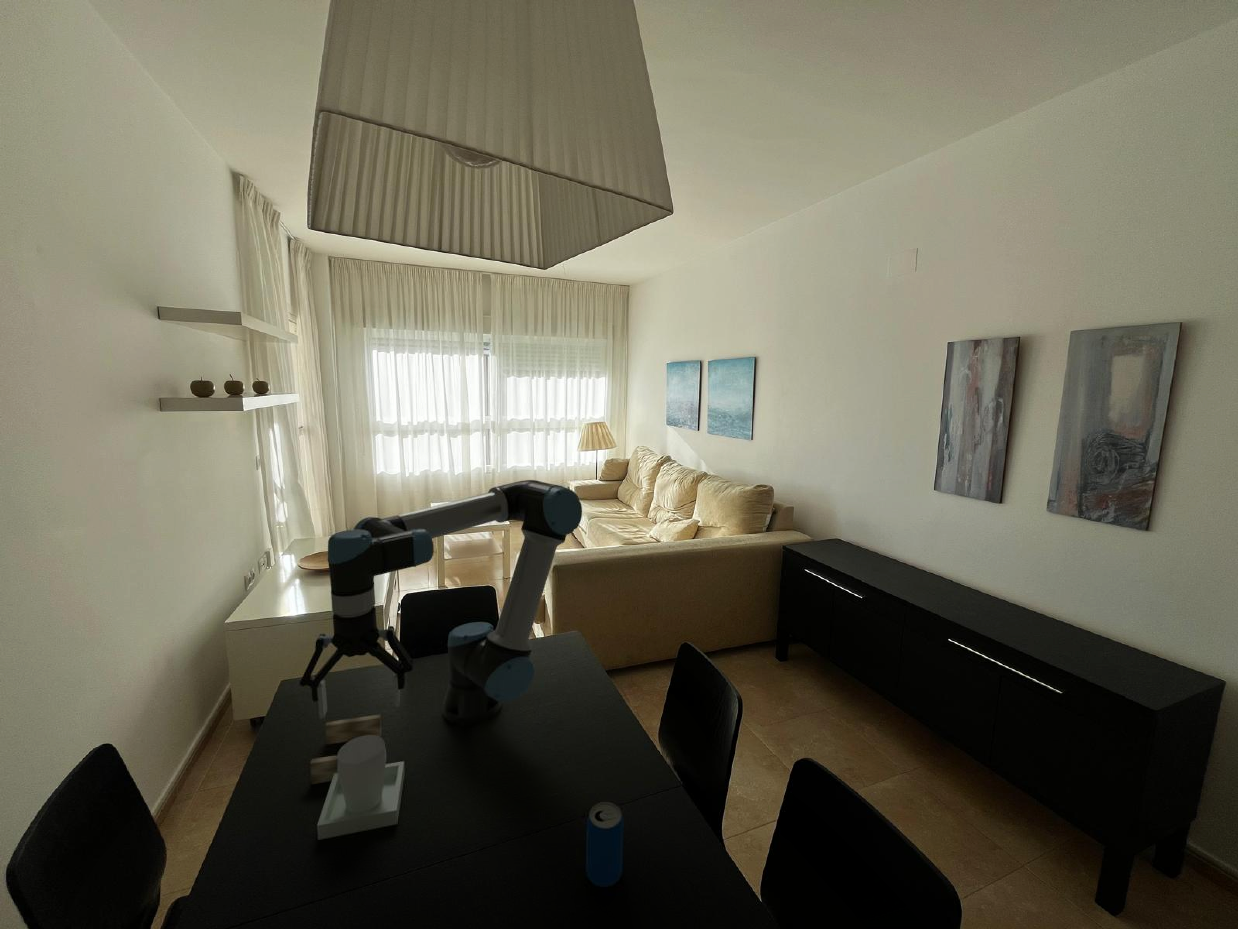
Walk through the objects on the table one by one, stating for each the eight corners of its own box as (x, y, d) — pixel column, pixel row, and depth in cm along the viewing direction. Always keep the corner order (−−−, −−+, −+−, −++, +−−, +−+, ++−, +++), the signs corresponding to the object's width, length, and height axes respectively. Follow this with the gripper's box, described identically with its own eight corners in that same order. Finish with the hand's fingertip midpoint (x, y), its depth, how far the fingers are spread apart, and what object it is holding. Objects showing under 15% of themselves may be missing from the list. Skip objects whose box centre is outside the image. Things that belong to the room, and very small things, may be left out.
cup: (369, 823, 102) (366, 768, 101) (329, 814, 104) (325, 760, 102) (397, 789, 111) (395, 738, 109) (360, 781, 113) (357, 731, 111)
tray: (404, 773, 116) (404, 761, 116) (397, 824, 103) (396, 810, 103) (335, 786, 112) (334, 773, 112) (318, 840, 99) (317, 825, 99)
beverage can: (585, 858, 97) (586, 801, 95) (620, 856, 97) (621, 799, 95) (586, 891, 90) (587, 830, 88) (623, 889, 91) (625, 829, 89)
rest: (381, 732, 130) (380, 714, 129) (371, 774, 116) (370, 753, 115) (327, 741, 126) (326, 722, 125) (311, 784, 113) (310, 763, 112)
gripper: (423, 595, 108) (428, 688, 112) (287, 608, 101) (296, 707, 105) (420, 610, 101) (425, 709, 105) (274, 625, 94) (284, 731, 98)
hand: (361, 708), depth 105 cm, fingers open, 13 cm apart
